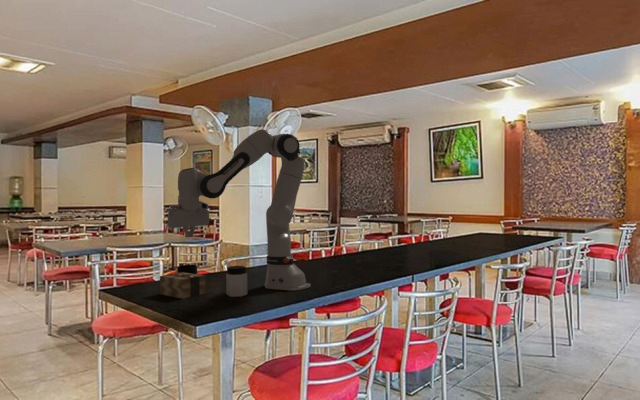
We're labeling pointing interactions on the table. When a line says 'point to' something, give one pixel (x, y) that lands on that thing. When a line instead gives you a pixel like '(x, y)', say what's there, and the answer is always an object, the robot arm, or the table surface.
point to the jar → (236, 281)
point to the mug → (187, 269)
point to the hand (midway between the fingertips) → (189, 237)
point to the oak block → (183, 285)
